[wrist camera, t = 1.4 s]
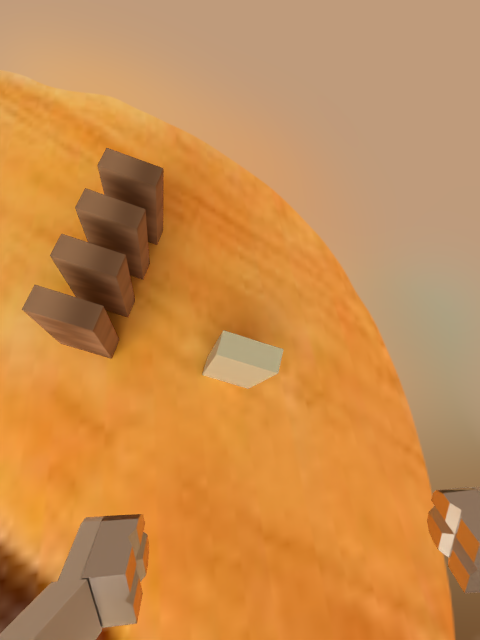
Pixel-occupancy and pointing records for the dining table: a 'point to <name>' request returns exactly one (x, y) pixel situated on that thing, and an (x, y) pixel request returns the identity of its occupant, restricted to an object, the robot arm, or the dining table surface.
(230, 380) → the sage domino
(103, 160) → the walnut domino
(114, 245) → the walnut domino
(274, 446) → the dining table surface
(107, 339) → the walnut domino
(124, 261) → the walnut domino
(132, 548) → the robot arm
